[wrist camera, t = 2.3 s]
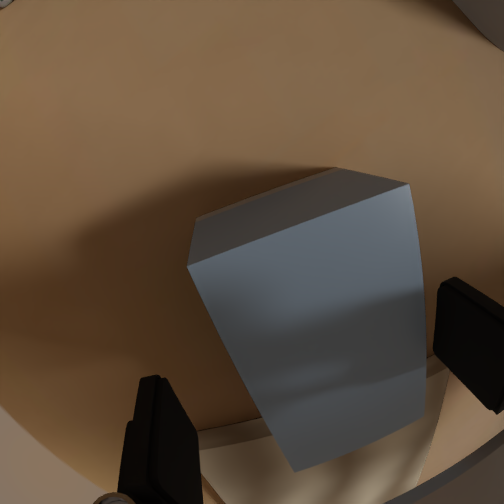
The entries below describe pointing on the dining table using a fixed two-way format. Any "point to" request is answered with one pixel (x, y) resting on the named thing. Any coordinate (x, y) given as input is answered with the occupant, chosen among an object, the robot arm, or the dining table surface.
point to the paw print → (486, 18)
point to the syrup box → (4, 2)
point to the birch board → (325, 474)
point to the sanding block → (320, 308)
